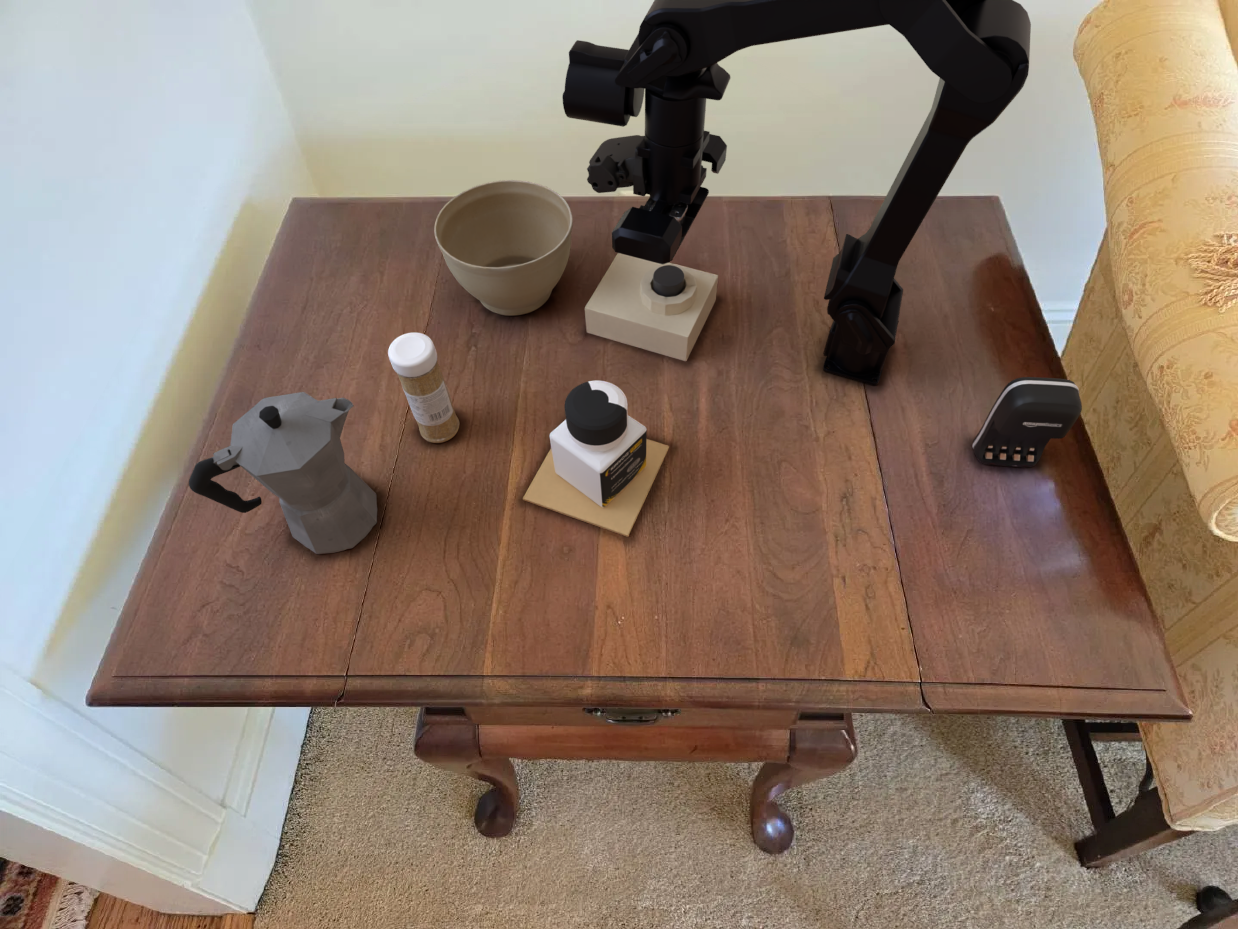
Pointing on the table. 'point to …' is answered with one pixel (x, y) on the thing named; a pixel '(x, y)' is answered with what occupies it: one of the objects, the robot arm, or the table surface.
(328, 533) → the coffeepot
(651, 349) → the push button box
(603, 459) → the medicine bottle
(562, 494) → the cork mat
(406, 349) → the sprinkles bottle
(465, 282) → the planter bowl
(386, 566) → the table surface
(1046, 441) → the battery charger
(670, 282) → the power button
